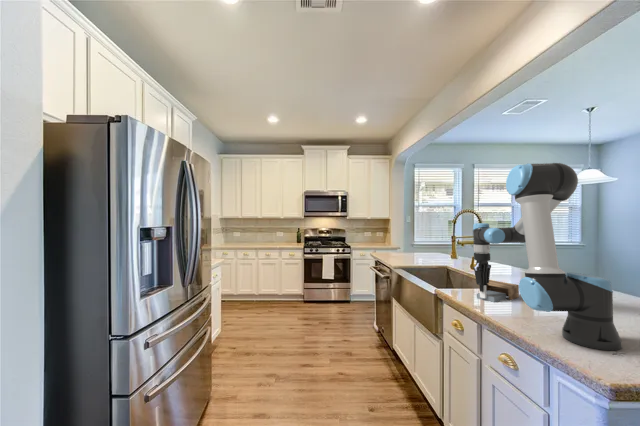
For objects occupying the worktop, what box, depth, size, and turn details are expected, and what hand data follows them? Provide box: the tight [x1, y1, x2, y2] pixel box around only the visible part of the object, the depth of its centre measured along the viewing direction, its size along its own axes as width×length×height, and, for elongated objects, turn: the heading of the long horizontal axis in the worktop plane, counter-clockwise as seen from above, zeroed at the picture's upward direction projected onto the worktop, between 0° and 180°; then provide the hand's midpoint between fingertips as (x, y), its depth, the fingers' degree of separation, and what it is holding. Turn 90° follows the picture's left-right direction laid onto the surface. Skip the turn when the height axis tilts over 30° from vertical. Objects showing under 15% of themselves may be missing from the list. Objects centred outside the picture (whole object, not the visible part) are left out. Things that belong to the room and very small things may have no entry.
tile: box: [476, 290, 507, 303], centre depth 152 cm, size 12×9×3 cm
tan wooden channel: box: [486, 279, 520, 301], centre depth 157 cm, size 8×15×7 cm, turn 31°
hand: (483, 297), depth 149 cm, fingers closed
